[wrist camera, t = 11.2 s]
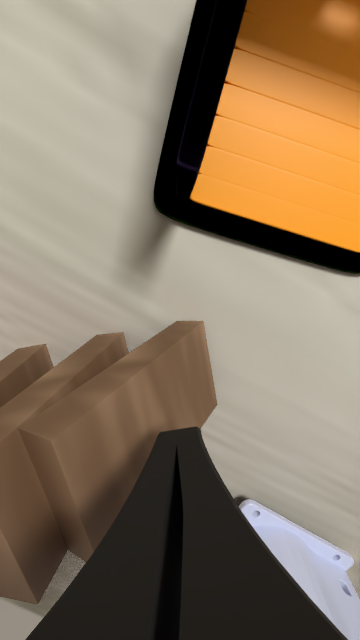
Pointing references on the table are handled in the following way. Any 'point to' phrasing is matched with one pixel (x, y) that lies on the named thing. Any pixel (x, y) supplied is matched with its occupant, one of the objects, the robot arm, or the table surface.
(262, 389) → the table surface
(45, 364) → the domino
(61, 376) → the domino
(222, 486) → the robot arm
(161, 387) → the domino
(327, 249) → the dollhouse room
